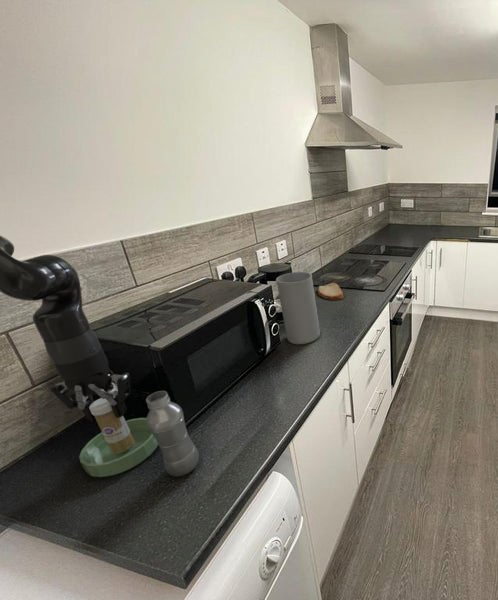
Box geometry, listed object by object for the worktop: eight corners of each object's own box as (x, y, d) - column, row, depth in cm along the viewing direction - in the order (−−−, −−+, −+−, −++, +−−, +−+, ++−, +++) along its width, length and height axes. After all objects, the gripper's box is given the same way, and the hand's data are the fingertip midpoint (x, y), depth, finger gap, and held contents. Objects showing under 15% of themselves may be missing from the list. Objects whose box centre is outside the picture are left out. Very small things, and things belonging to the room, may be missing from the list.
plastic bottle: (170, 486, 68) (137, 413, 60) (166, 466, 73) (135, 395, 65) (204, 469, 72) (177, 397, 64) (198, 450, 77) (173, 382, 69)
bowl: (70, 484, 69) (62, 471, 68) (111, 435, 82) (105, 423, 81) (143, 471, 72) (137, 458, 70) (172, 425, 85) (167, 413, 83)
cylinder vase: (290, 348, 119) (278, 285, 110) (285, 334, 130) (274, 275, 120) (323, 340, 124) (314, 279, 114) (316, 327, 135) (308, 270, 125)
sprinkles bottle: (109, 457, 74) (85, 411, 68) (113, 444, 77) (91, 399, 72) (134, 449, 76) (113, 403, 71) (137, 436, 79) (116, 392, 74)
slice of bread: (341, 300, 160) (340, 293, 159) (308, 298, 164) (307, 291, 163) (354, 288, 176) (353, 281, 175) (324, 286, 180) (323, 280, 179)
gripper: (126, 339, 71) (151, 401, 77) (51, 347, 68) (84, 410, 75) (104, 357, 64) (134, 423, 71) (20, 367, 62) (59, 435, 68)
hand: (108, 416), depth 73 cm, fingers closed on sprinkles bottle, 4 cm apart
